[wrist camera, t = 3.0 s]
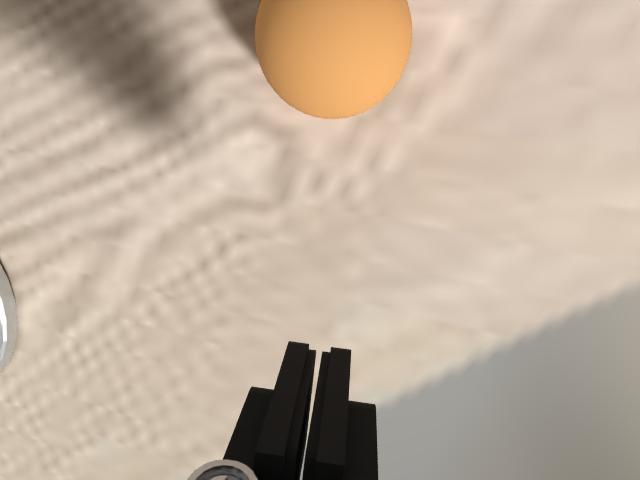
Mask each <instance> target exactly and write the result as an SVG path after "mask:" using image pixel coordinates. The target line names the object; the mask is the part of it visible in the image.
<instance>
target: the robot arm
mask: <svg viewBox="0 0 640 480" xmlns="http://www.w3.org/2000/svg"><path fill="white" fill-rule="evenodd" d="M17 328H18V319H17V310H16V302H15V299H14V296H13V292H12V289H11V286H10V283H9V280H8V278H7V276H6V274H5V272H4V270H3V268H2V266H1V264H0V374H1V373H2V371H3V370H4V368H5V367H6V365H7V364H8V362H9V361H10V359H11V356H12V353H13V350H14V347H15V344H16V338H17ZM315 358H316V350H309V344H305V343H298V342H291V341H289V342H288V345H287V349H286V352H285V355H284V359H283V362H282V365H281V368H280V372H279V375H278V378H277V382H276V385H275V388H274V390H272V389H265V388H258V387H251V389H250V391H249V393H248V396H247V398H246V401H245V403H244V406H243V408H242V411H241V414H240V416H239V419H238V421H237V424H236V427H235V429H234V432H233V434H232V437H231V440H230V442H229V445H228V447H227V450H226V453H225V455H224V458H223V460H215V461H212V462H209V463H206V464H204V465H202V466H201V467H199V468H198V469H196V470H195V471H194V472H193V473H192V474H191V475H190V477H189V478H188V479H187V480H300V474H301V468H302V462H303V457H304V451H305V445H306V438H307V429H308V420H309V411H310V402H311V393H312V385H313V376H314V367H315ZM350 363H351V350H349V349H341V348H334V347H331V352H322V357H321V363H320V369H319V376H318V382H317V388H316V394H315V400H314V406H313V412H312V418H311V424H310V430H309V436H308V442H307V448H306V455H305V462H304V470H303V479H302V480H378V462H377V460H378V459H377V430H376V429H377V428H376V406H375V404H369V403H362V402H355V401H348V399H349V381H350Z"/></svg>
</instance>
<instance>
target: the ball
mask: <svg viewBox="0 0 640 480" xmlns="http://www.w3.org/2000/svg"><path fill="white" fill-rule="evenodd" d="M411 43H412V21H411V15H410V10H409V6H408V3H407V0H261V2H260V5H259V8H258V12H257V16H256V23H255V45H256V52H257V56H258V60H259V63H260V66H261V69H262V71H263V73H264V75H265V77H266V79H267V81H268V83H269V84H270V85H271V87H272V88H273V90H274V91H275V92H276V93H277V94H278V95H279V96H280V97H281V98H282V99H283V100H284V101H285V102H286V103H288V104H289V105H290V106H292V107H293V108H295V109H297V110H299V111H301V112H303V113H305V114H308V115H311V116H314V117H319V118H324V119H340V118H347V117H351V116H355V115H357V114H360V113H363V112H365V111H366V110H368V109H370V108H372V107H373V106H375V105H376V104H378V103H379V102H380V101H381V100H382V99H384V98H385V97H386V96H387V95H388V94H389V92H390V91H391V90H392V89H393V88H394V86H395V85H396V83H397V82H398V80H399V79H400V77H401V75H402V73H403V71H404V69H405V67H406V64H407V61H408V58H409V54H410V49H411Z"/></svg>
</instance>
